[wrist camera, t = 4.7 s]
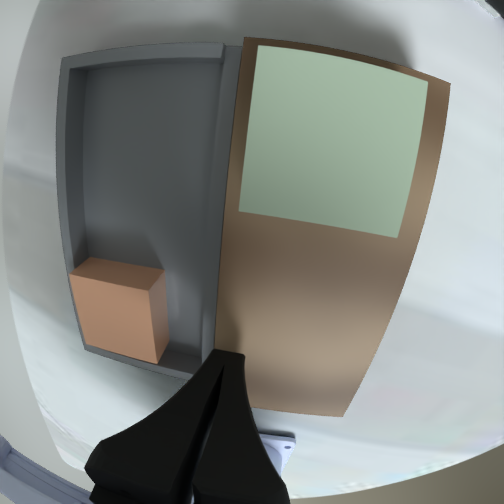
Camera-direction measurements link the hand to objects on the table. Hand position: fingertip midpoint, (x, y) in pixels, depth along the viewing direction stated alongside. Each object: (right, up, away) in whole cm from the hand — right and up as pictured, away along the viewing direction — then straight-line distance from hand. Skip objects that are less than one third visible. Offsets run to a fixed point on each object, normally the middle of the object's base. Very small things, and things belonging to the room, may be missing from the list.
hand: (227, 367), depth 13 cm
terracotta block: (-6, +1, +1) cm, 6 cm away
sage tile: (+3, +8, -4) cm, 10 cm away
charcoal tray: (-4, +6, +2) cm, 8 cm away
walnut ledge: (+4, +5, +1) cm, 6 cm away
